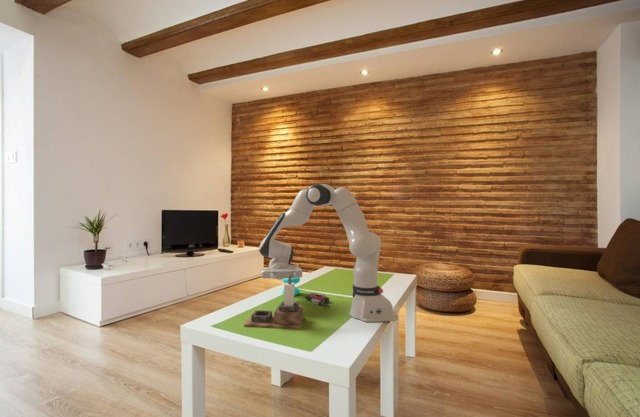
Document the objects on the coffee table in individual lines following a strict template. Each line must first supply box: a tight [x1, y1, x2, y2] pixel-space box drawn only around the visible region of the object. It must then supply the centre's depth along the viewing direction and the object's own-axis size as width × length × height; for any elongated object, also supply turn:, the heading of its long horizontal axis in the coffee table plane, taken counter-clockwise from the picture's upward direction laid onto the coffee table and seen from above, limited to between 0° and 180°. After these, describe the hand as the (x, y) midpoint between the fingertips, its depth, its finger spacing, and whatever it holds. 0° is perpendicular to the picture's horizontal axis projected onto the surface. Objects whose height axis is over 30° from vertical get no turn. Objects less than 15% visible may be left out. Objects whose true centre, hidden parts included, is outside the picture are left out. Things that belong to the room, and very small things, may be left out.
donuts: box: [282, 277, 301, 296], centre depth 184 cm, size 10×10×10 cm
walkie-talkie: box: [304, 292, 331, 308], centre depth 169 cm, size 9×4×20 cm
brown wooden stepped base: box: [243, 301, 305, 330], centre depth 140 cm, size 24×13×8 cm, turn 86°
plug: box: [283, 274, 296, 307], centre depth 139 cm, size 4×5×15 cm
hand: (284, 276), depth 151 cm, fingers open, 8 cm apart
